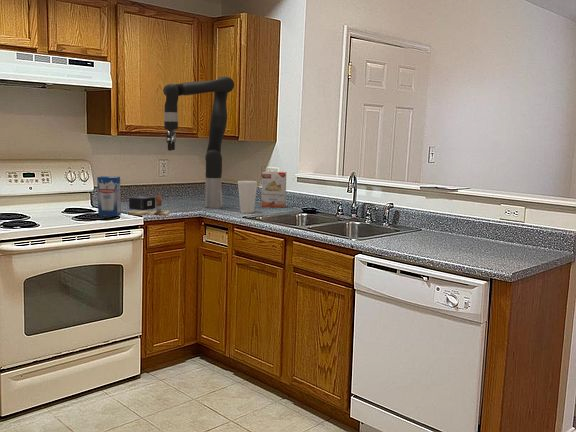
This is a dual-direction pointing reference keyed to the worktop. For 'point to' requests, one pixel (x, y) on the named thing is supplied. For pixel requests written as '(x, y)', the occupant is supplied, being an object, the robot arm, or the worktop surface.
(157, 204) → the awl
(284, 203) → the cracker box
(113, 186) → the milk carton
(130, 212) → the panel
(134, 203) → the small box
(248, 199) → the cup
